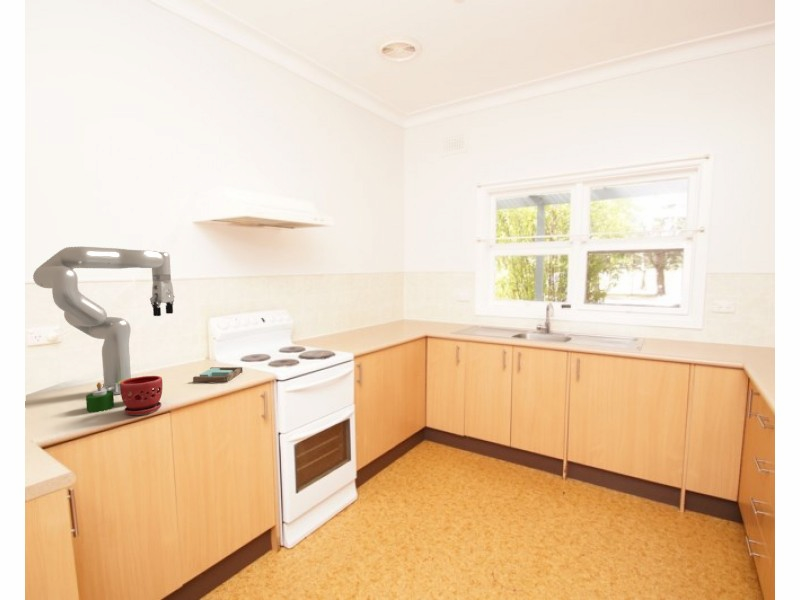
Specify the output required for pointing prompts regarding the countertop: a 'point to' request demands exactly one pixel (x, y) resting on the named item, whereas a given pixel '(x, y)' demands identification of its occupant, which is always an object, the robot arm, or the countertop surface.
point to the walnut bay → (219, 378)
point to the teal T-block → (216, 372)
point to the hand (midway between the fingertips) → (163, 314)
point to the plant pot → (141, 394)
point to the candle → (99, 400)
